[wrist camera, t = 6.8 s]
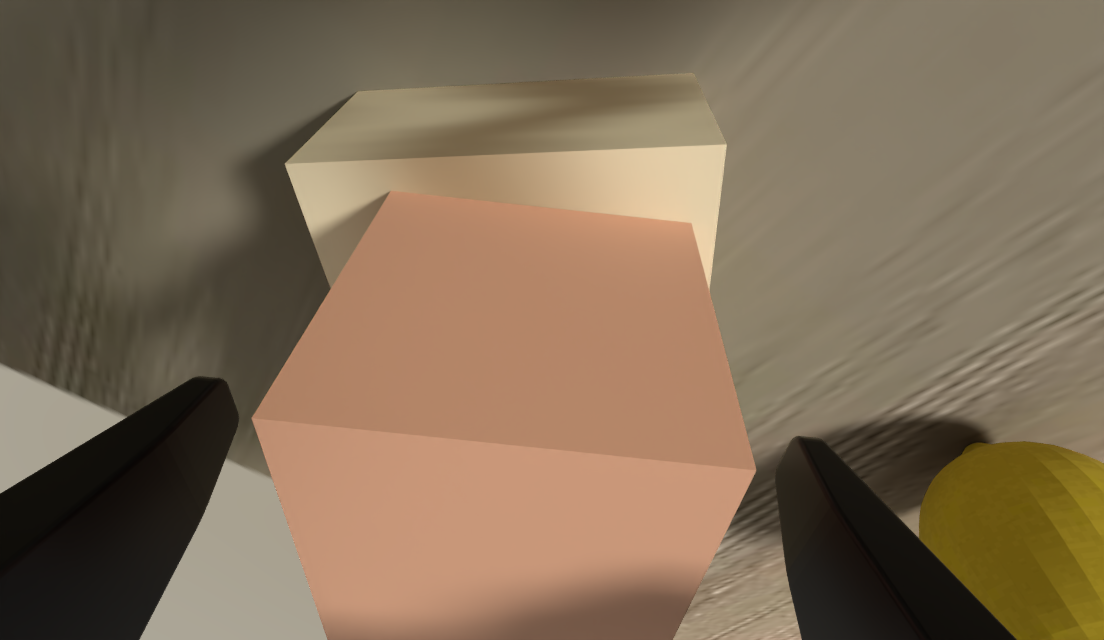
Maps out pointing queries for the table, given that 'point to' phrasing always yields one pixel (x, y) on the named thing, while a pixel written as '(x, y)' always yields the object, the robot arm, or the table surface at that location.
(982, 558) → the lemon
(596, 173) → the maple base
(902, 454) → the table surface
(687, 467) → the terracotta cube
